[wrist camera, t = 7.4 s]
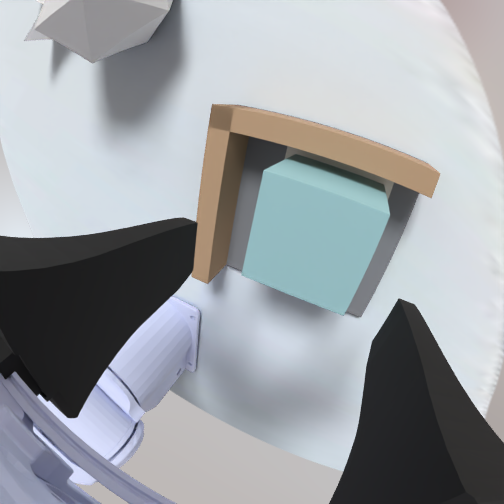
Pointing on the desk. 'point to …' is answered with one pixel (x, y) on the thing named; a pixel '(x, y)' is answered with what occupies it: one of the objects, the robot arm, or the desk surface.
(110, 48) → the die
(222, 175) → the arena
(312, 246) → the cube
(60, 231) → the desk surface
